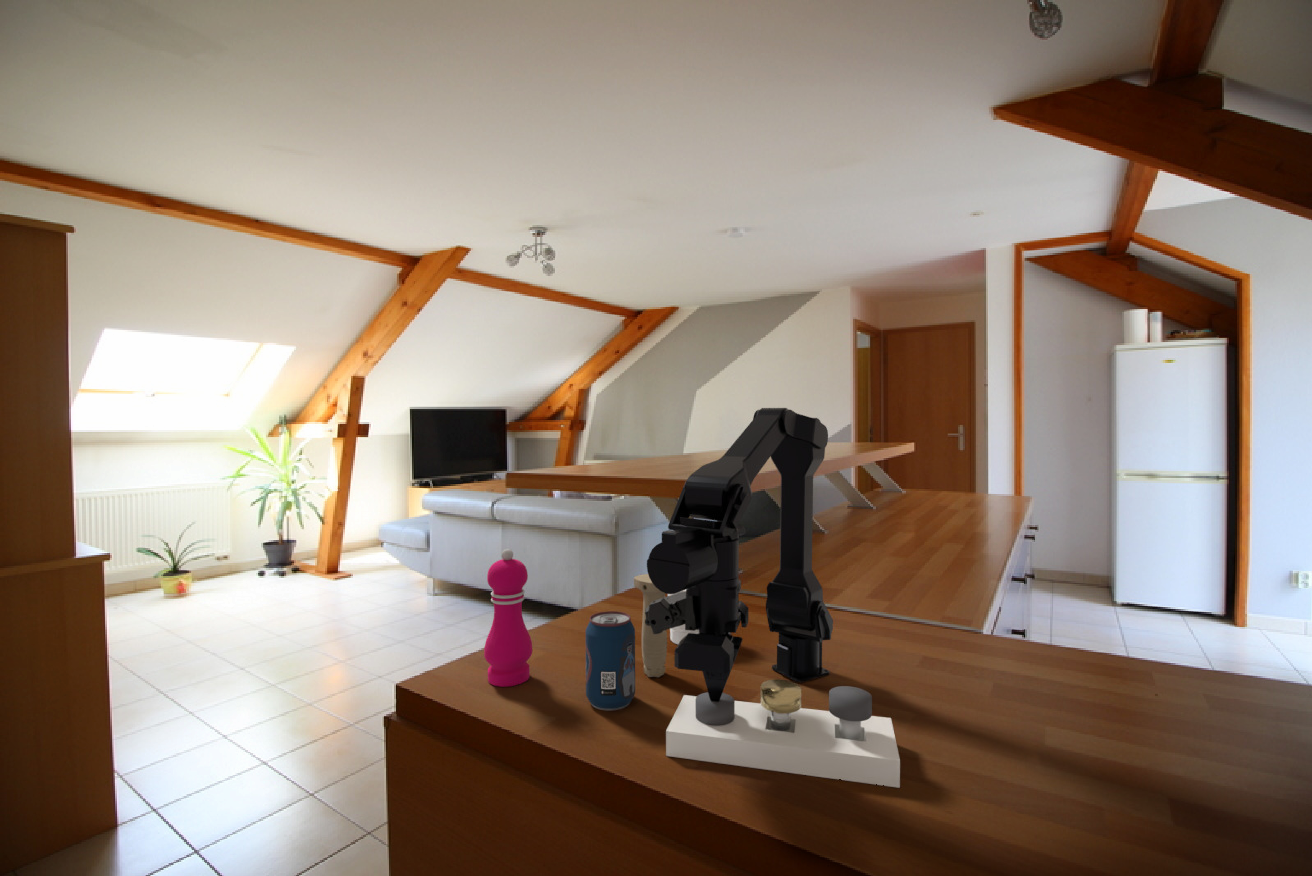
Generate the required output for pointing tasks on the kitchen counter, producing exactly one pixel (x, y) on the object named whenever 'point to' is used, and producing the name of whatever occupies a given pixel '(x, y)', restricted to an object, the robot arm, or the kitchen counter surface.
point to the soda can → (610, 660)
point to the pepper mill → (507, 624)
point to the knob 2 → (850, 709)
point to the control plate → (788, 743)
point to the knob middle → (780, 701)
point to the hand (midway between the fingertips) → (715, 700)
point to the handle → (651, 643)
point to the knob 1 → (715, 709)
